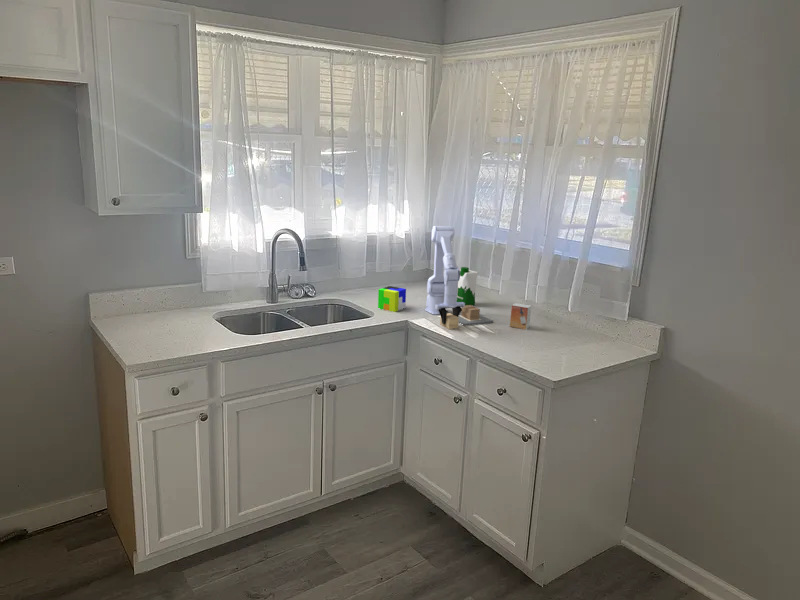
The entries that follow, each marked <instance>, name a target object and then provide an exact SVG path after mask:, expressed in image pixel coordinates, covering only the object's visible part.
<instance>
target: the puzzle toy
mask: <svg viewBox="0 0 800 600" xmlns="http://www.w3.org/2000/svg"><path fill="white" fill-rule="evenodd" d="M377 295H378V296H377V299H378V300H377V309H378V308H380V309H379V310H382V309H385V310H384V311H387V310H389V311H388V312H392V311H393V312H392V313H396V312H398V310H399V311H402V310H404V309H406V302H407V301H406V300H407V299H406V297H407V288H403V287H397V286H393V285H392V286H391V285H389V286H385V287H382V288H379V289H378V293H377ZM403 308H404V309H403Z"/></svg>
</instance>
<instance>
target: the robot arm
mask: <svg viewBox="0 0 800 600" xmlns="http://www.w3.org/2000/svg"><path fill="white" fill-rule="evenodd" d="M454 228H455V227H454V226H453V225H450V226H449V225H433V226H432V229H431V242H433V243H434V260H433V261H434V262H433V275H431V276H430V277H429V278H428V279H427V283H426V292H427V296H426V303H425V306H426V307H425V308H424V311H425V312H427V313H428V314H429V313H430V314H431V315H440V317H441V319H442V323H443V324H446V316H447V313H449V312H448V310H447V309H452V314H453V315H455V316H457V317H458V316H459V314H461V313H462V307H465V303H463V302H457V293H458V281H459V279H460V270H461V269H460V268H459V266H457V261H456V256H455V255H454V254H453V250H452V249H453V248H452V242H453V239H454V237H455V229H454Z"/></svg>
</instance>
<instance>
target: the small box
mask: <svg viewBox="0 0 800 600" xmlns="http://www.w3.org/2000/svg"><path fill="white" fill-rule="evenodd" d="M510 310H511V311H510V320H509V327H510V328H516V329H520V330H525V331H526V330H527V329H529V328H530V324H531V323H530V322H531V315H532V314H531V313H532V305H529V304H523V303H517V302H514V303H513V304H511V308H510Z"/></svg>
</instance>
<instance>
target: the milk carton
mask: <svg viewBox="0 0 800 600" xmlns="http://www.w3.org/2000/svg"><path fill="white" fill-rule="evenodd" d="M459 270H460V279H459V281H458V287H457V302H463V303H465V306H466V305H475V306H476V288H477V287H476V284H477V277H478V274H479V272H478V271H475V270H470V268H469V267H466V266H462V267H460V269H459Z"/></svg>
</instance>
